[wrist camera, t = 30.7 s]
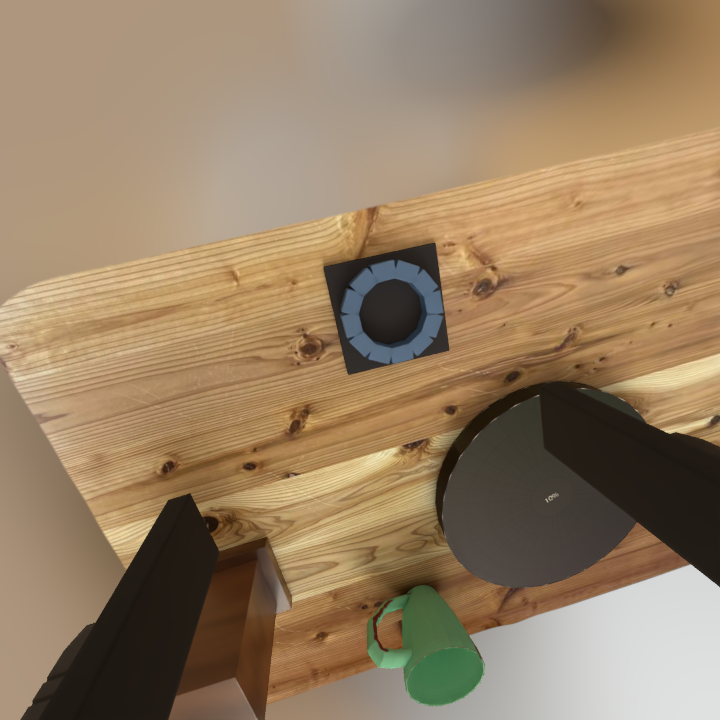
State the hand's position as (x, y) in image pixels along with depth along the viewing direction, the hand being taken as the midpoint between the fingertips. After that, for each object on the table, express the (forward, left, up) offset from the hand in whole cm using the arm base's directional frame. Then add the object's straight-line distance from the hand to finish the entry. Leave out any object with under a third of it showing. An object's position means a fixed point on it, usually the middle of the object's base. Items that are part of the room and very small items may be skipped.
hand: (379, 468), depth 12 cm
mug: (+36, -17, -26) cm, 48 cm away
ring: (+2, +6, -25) cm, 26 cm away
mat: (+2, +6, -26) cm, 26 cm away
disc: (+34, +8, -26) cm, 44 cm away
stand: (+17, -31, -26) cm, 44 cm away
